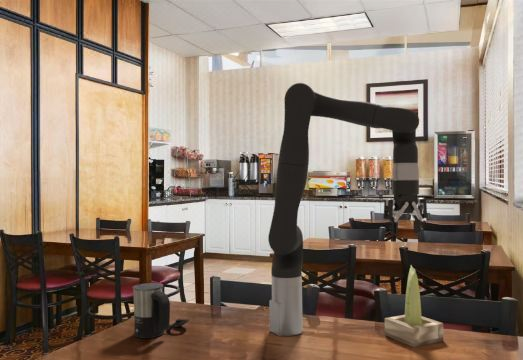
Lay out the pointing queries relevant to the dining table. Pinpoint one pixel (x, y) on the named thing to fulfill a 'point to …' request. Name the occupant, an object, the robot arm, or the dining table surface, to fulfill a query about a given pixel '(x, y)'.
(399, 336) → the socket block
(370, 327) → the dining table surface
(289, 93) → the robot arm
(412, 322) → the tube
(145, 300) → the milk frother
